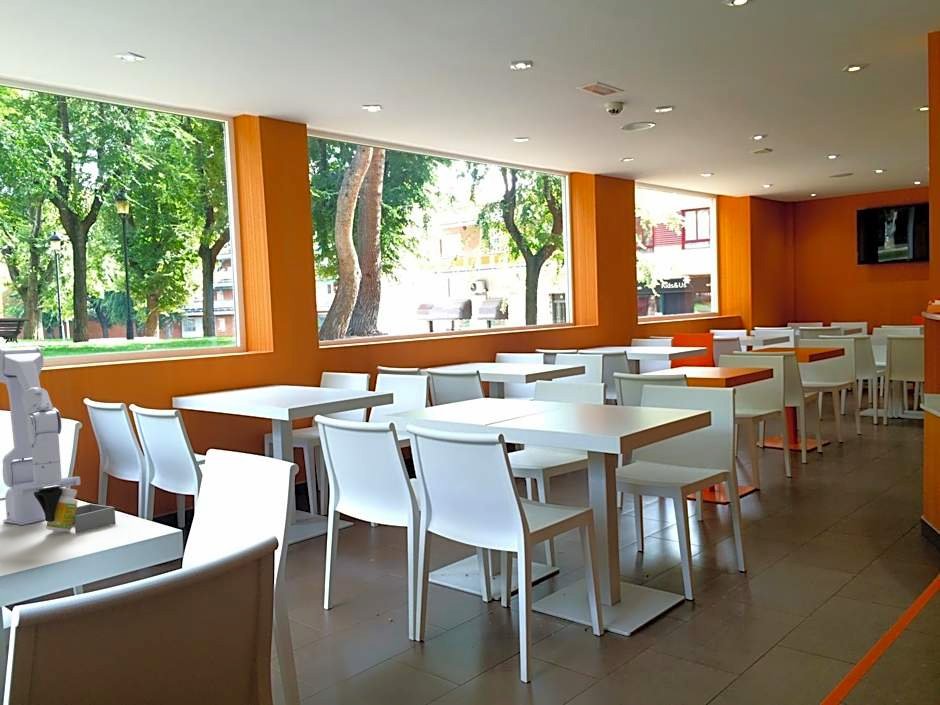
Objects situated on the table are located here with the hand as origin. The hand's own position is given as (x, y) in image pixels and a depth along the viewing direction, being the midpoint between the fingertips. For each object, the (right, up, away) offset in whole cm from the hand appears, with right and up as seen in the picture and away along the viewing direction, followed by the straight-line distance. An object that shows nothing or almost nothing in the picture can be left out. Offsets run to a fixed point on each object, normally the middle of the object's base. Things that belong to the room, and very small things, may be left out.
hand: (50, 521), depth 186 cm
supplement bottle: (+1, -3, +2) cm, 3 cm away
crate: (+4, -3, +8) cm, 9 cm away
